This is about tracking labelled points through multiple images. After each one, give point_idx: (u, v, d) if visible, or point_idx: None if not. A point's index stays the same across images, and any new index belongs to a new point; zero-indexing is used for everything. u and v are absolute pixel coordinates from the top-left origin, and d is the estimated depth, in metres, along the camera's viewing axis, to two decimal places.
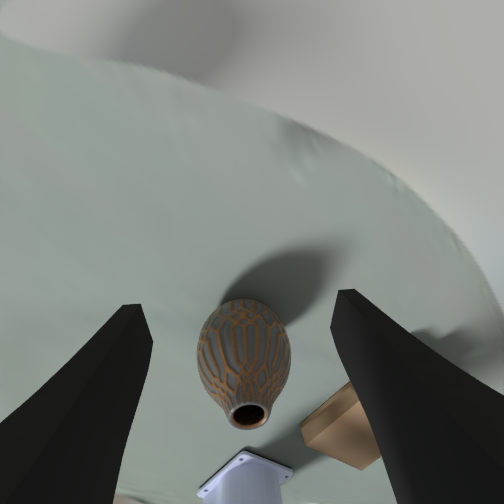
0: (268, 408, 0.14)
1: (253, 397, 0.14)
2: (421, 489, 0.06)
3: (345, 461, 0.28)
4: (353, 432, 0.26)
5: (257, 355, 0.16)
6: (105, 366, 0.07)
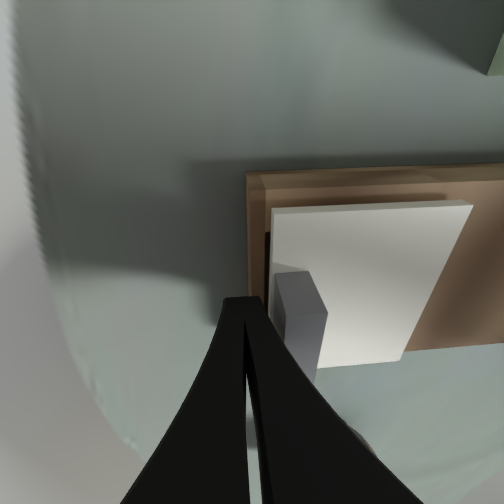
0: None
1: None
2: None
3: None
4: (461, 307, 0.12)
5: None
6: (243, 354, 0.07)
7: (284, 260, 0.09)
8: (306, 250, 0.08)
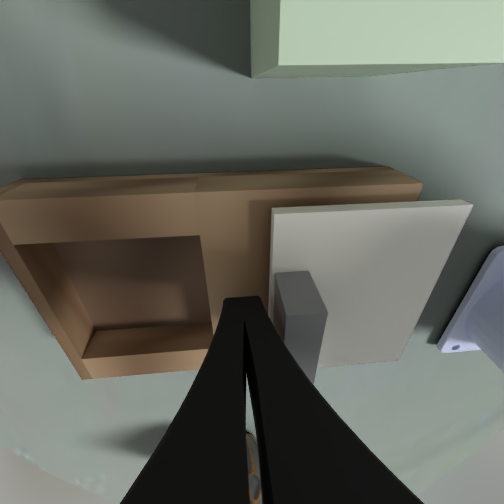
0: None
1: None
2: None
3: None
4: None
5: None
6: (243, 354, 0.07)
7: (284, 260, 0.09)
8: (306, 249, 0.08)
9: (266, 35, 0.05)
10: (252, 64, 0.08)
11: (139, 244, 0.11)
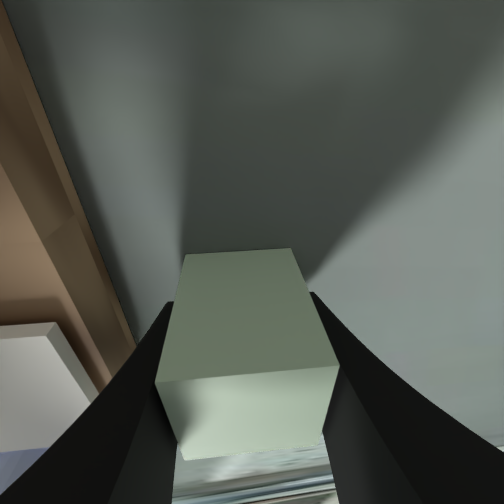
0: None
1: None
2: (355, 497, 0.06)
3: None
4: None
5: None
6: None
7: None
8: (15, 365, 0.08)
9: (190, 326, 0.07)
10: (193, 261, 0.09)
11: None
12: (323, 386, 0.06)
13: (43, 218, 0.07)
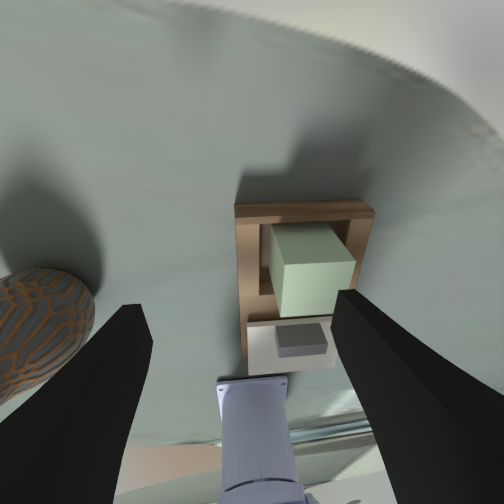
0: None
1: None
2: (421, 489, 0.06)
3: None
4: None
5: None
6: (105, 366, 0.07)
7: (325, 325, 0.21)
8: (328, 330, 0.21)
9: (289, 250, 0.15)
10: (276, 227, 0.18)
11: None
12: (348, 272, 0.15)
13: None
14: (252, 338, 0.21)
